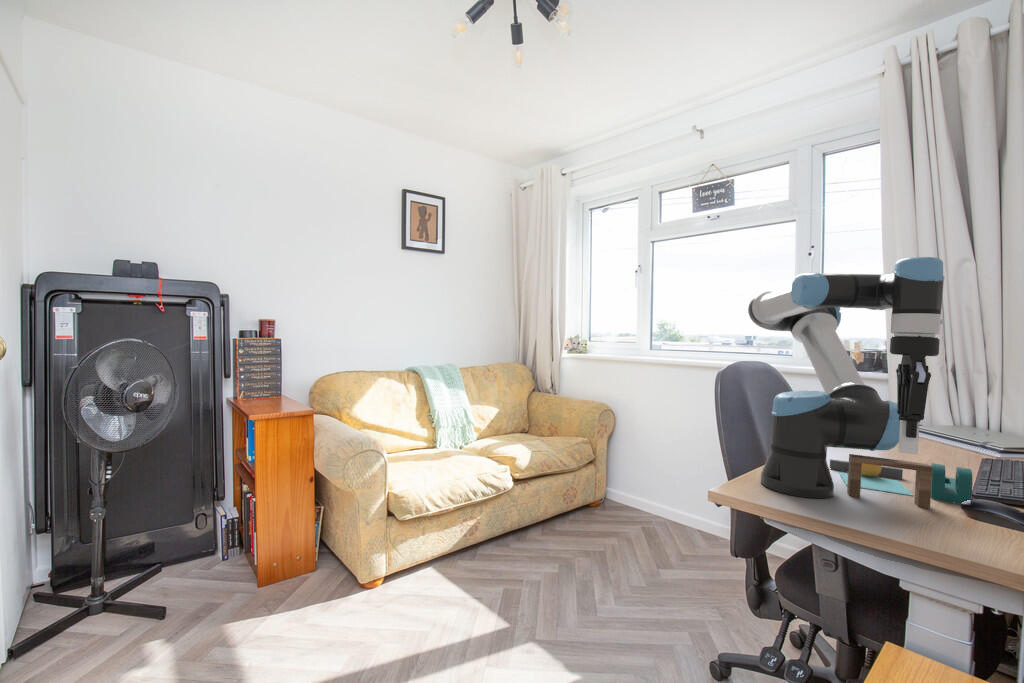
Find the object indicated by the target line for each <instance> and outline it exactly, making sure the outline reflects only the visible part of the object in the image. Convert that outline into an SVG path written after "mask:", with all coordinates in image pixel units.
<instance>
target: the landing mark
mask: <svg viewBox="0 0 1024 683" xmlns="http://www.w3.org/2000/svg"><path fill="white" fill-rule="evenodd" d="M837 473H838V474H840V475H839V476H840V478H841V479H842V481H843V482H844V485H846V487H847V486H848V472H847V473H846V472H842V471H838V472H837ZM860 489H864V490H871V491H878V492H884V493H892V494H897V495H898V494H899V495H903V496H911V497H914V494H913V493H911V491H910V490H909V489H907V487H906V486H905V485H904V484H902V483H901V481H900V480H898V479H897V480H894V479H891V478H889V479H888V478H883V477H877V476H875V477H866V476H863V475H862V474H861V487H860Z"/></svg>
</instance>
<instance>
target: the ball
mask: <svg viewBox="0 0 1024 683" xmlns="http://www.w3.org/2000/svg"><path fill="white" fill-rule="evenodd" d="M869 456H870V457H872V456H871V455H869ZM880 472H881V466H879V465H872V464H864V463H862V470H861V475H862V476H866V477H878V476H877V475H879V474H880Z"/></svg>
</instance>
